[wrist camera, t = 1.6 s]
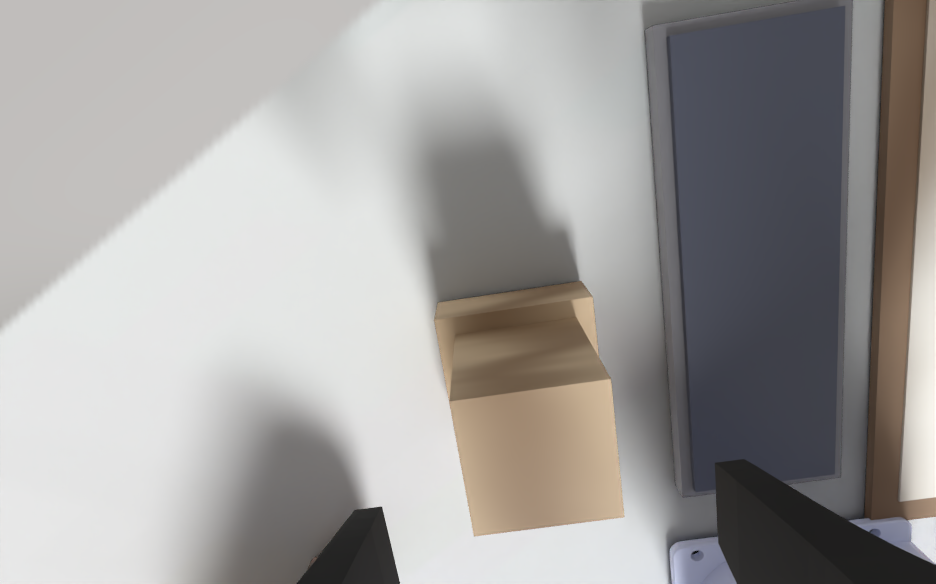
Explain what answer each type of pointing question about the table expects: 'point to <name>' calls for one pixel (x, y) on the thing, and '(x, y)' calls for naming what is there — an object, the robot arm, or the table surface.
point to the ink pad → (753, 235)
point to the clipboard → (905, 273)
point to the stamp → (530, 408)
